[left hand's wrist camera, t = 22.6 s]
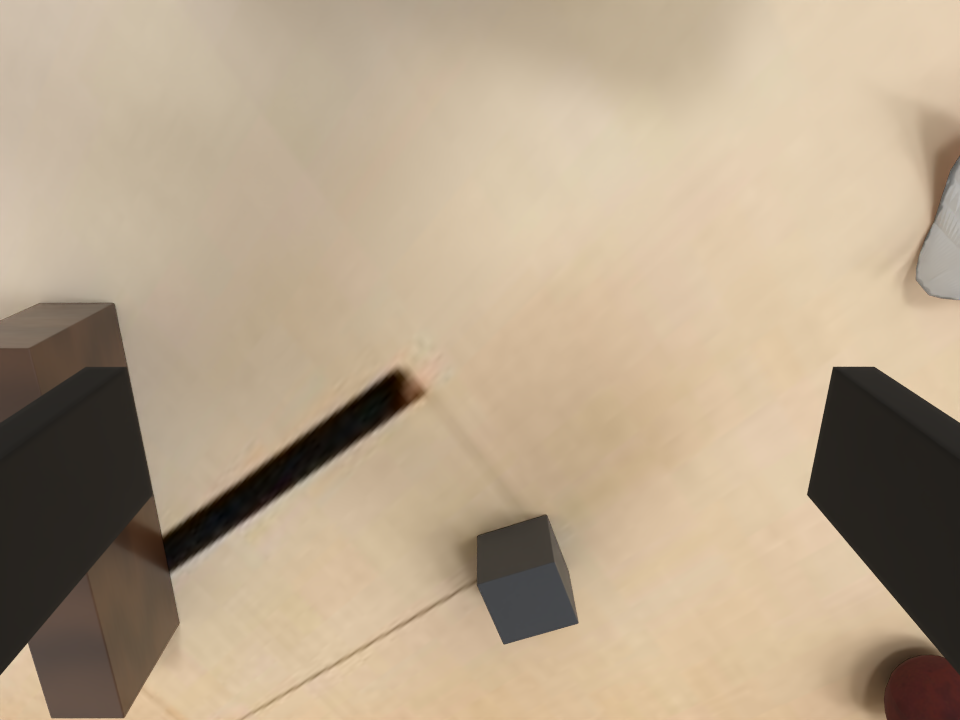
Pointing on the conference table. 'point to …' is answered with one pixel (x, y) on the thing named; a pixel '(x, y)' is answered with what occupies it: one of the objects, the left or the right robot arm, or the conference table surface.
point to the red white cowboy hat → (943, 245)
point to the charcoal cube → (525, 580)
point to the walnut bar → (127, 561)
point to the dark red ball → (923, 690)
